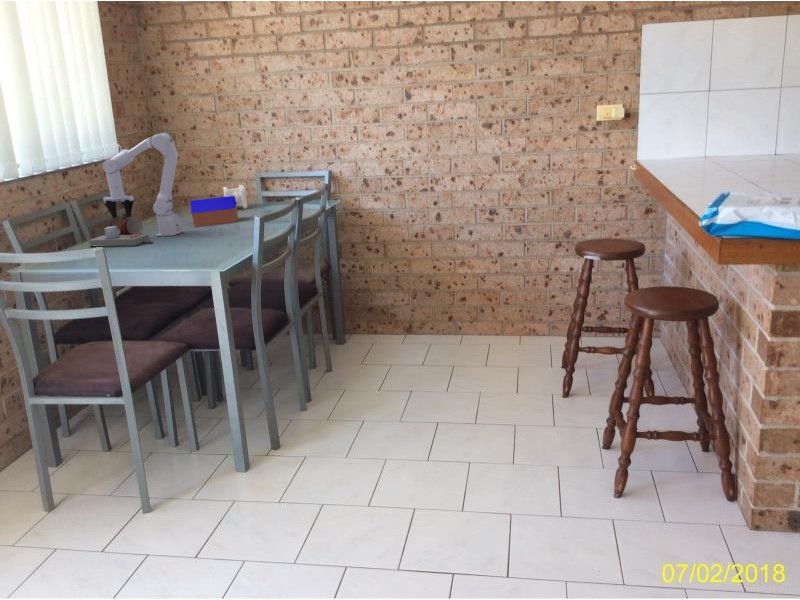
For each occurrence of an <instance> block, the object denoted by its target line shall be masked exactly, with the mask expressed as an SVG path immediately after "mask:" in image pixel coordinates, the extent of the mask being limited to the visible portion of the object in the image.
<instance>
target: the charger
mask: <svg viewBox="0 0 800 600" xmlns="http://www.w3.org/2000/svg"><path fill="white" fill-rule="evenodd" d="M118 229H119V228H118V226H117V225H114V226H106V227H104V229H103V230H104V233H105V236H106V239H115V238H118V237H119V230H118Z"/></svg>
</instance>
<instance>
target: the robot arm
mask: <svg viewBox="0 0 800 600" xmlns="http://www.w3.org/2000/svg"><path fill="white" fill-rule="evenodd" d="M175 144H176V143H175V140H174V139H173V137H172V136H171V135H170V134H169V133H167V132H162V133H157V134H154V135H153V136H151V137H150V136H149V137H148V138H146V139H144V140H142V141H141V142H140V143H138V144H137V145H135V146H134V147H132V148H131V149H126V148H125V149H120V150H118V151H119V153H117V154H116V155H115V154H114V155H112V156H110V159H108V158H107V159H106V160H104V161H103V163H102V170H103V171H104V172H105V175H106V181H107V184H108V188H109V194H110V196H104V197H103V198H102V199H103V200H102V201H103V203H104V204H103V205H104V206H105V207H106V208H107V210H108V211H109V213H110V214H111V217H112V219H115V218H117V217H118V213H117V202H121V204H122V206H123V209H124V211H125V215H126V218H127V219H129V218H132V210H133V205H134V202H135V201H134V200H135V198H134V196H133V195H125V192H124V191H125V190H124V186H123V181H122V176H121V172H120V170H121V169H122V168H124V167H126V166H127V165H128V164H130V163H132V162H134V160H135V156H137V155H139V154H141V153H143V152H144V151H146V150H148V149H156V150H157V151H159V152H160V154H161V155H162V156H163V157H164V161H163V162H164V163H163V168H162V175H161V180H160V186H159V191H158V194H157V196H156V200H155V202H154V203H153V205H152V210H153V212H154V213H155V215H156V222H157V226H158V232H159V233H157V234H155V237H164V236H167V237H168V236H169V237H170V236H172V237H173V236H175V235H178V234H181V233H183V232H184V230H183V229H182V228H183V227H182V223H181V218H180V216H179V214H175V213H174V212H173V210H172V209H173V208H174V204H173V195H172V193H173V192H172V191H173V186H174V182H175V181H174V180H175V174H176V168H177V163H178V157H179V153H178V150H177V148H176V145H175Z"/></svg>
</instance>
